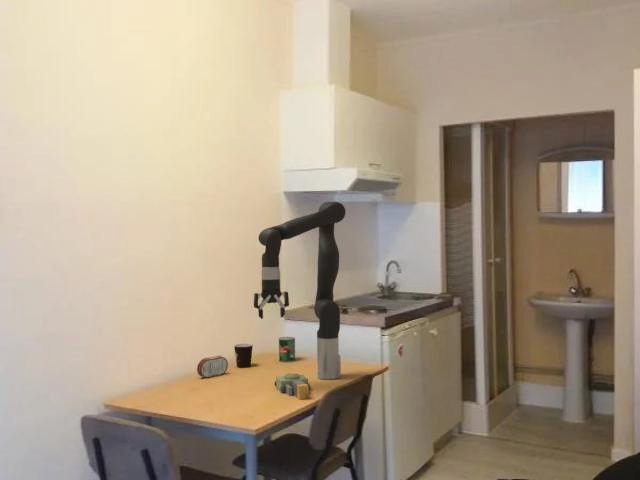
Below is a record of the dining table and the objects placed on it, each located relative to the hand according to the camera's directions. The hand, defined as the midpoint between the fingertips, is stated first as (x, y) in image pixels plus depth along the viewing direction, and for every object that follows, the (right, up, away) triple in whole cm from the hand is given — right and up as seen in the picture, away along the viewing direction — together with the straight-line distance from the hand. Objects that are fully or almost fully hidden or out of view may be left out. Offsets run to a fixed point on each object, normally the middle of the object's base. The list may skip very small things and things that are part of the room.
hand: (271, 317), depth 274 cm
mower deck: (+9, -28, -7) cm, 30 cm away
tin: (-27, -28, +21) cm, 45 cm away
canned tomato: (+4, -27, +52) cm, 59 cm away
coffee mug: (-16, -28, +42) cm, 53 cm away
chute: (+12, -28, -16) cm, 35 cm away
